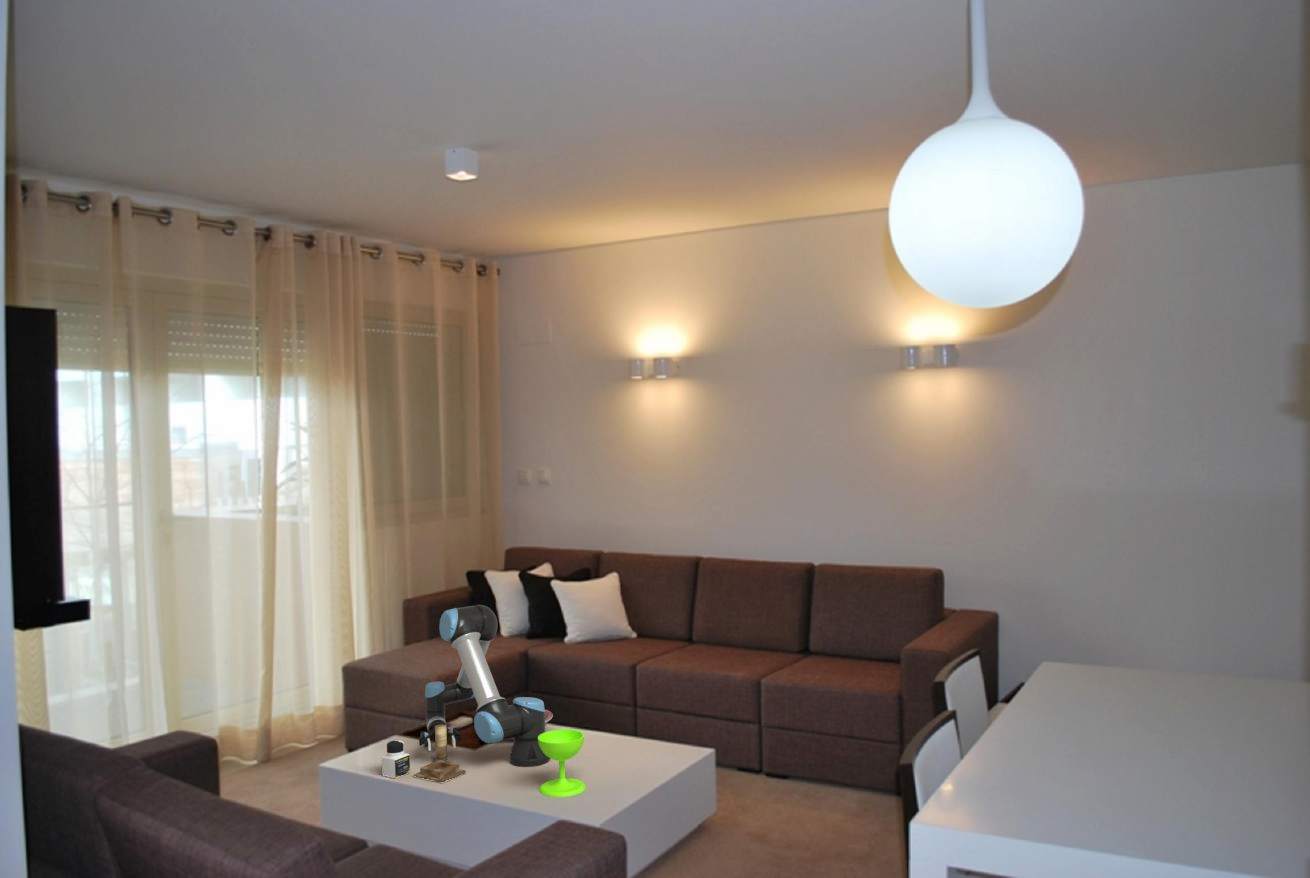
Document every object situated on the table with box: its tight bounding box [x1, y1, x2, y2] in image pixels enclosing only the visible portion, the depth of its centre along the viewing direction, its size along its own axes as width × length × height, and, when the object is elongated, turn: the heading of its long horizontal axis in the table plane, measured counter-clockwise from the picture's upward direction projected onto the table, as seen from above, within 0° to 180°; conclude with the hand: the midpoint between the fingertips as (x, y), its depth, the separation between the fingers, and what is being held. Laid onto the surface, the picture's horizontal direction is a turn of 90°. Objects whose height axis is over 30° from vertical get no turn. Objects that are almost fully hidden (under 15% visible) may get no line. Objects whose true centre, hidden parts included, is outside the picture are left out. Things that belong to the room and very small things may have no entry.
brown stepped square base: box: [413, 760, 467, 783], centre depth 349 cm, size 14×12×3 cm
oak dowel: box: [434, 724, 448, 762], centre depth 362 cm, size 4×4×14 cm
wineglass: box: [538, 728, 587, 798], centre depth 332 cm, size 16×16×18 cm
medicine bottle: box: [381, 739, 411, 779], centre depth 351 cm, size 7×7×12 cm
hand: (442, 745), depth 357 cm, fingers open, 8 cm apart
